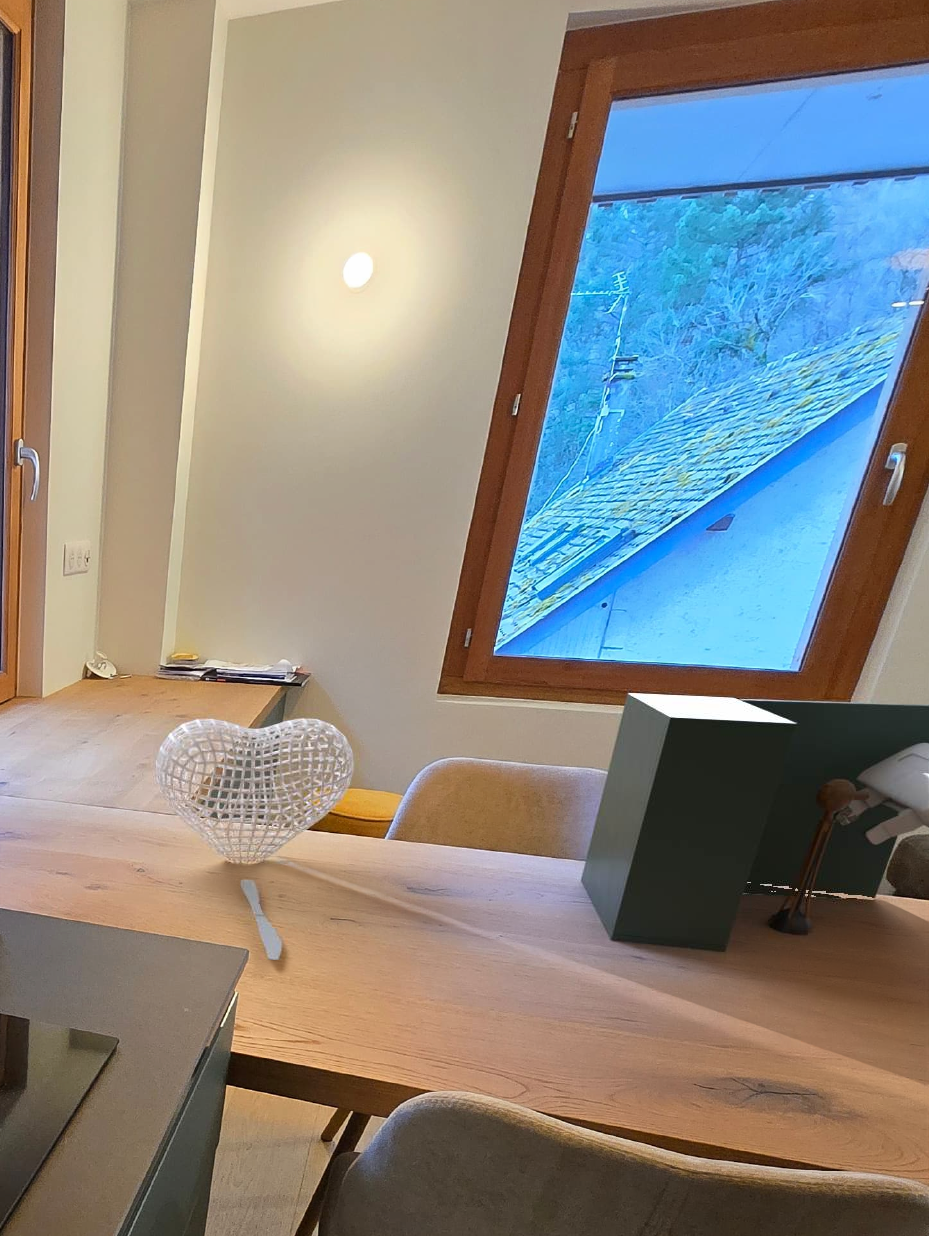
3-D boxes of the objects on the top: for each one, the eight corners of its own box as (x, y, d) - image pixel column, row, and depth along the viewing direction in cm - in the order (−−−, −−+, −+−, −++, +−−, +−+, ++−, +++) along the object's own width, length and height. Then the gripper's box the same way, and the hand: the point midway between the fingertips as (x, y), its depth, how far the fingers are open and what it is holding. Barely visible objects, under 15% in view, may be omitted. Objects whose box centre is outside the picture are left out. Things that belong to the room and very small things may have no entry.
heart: (324, 851, 161) (344, 708, 151) (350, 886, 147) (373, 731, 137) (145, 850, 163) (154, 709, 154) (154, 884, 149) (164, 731, 140)
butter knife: (261, 879, 144) (239, 877, 144) (289, 960, 120) (263, 958, 120) (260, 883, 144) (238, 881, 144) (288, 965, 120) (262, 962, 121)
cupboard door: (663, 886, 147) (718, 693, 136) (841, 898, 143) (912, 699, 132) (683, 901, 141) (742, 699, 130) (869, 913, 136) (946, 706, 126)
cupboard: (675, 900, 142) (734, 697, 131) (723, 956, 122) (797, 723, 112) (578, 890, 145) (627, 693, 135) (609, 943, 126) (670, 717, 115)
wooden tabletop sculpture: (802, 927, 130) (858, 773, 122) (827, 942, 126) (887, 784, 118) (754, 927, 131) (806, 774, 122) (778, 942, 127) (834, 784, 118)
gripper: (926, 719, 125) (804, 791, 132) (1015, 747, 107) (869, 829, 114) (957, 758, 125) (834, 828, 132) (1052, 792, 107) (904, 871, 114)
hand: (851, 829), depth 123 cm, fingers open, 8 cm apart
